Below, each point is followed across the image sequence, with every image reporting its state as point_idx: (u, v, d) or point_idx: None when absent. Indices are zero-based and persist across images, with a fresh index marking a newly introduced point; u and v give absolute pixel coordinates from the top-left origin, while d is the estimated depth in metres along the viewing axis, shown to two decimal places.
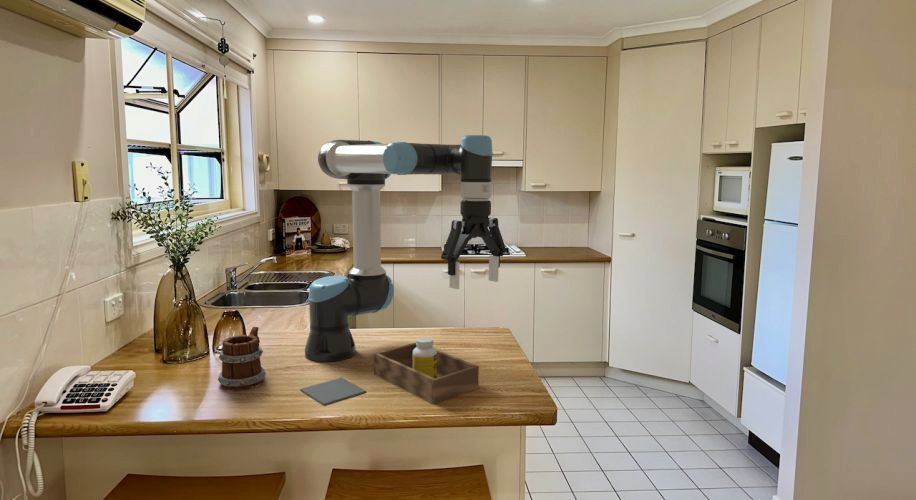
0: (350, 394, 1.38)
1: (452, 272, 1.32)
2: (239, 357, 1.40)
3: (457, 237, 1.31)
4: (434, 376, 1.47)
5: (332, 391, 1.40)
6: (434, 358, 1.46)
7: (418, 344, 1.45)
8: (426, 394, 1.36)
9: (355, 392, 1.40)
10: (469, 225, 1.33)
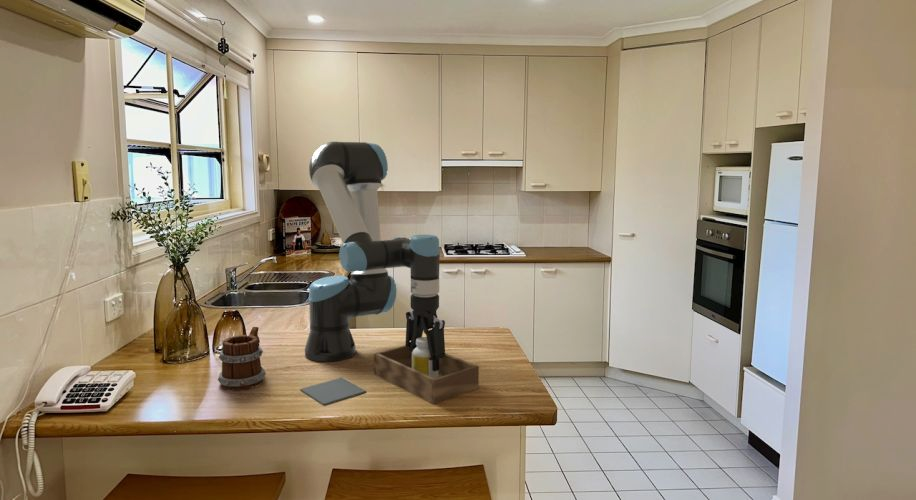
0: (350, 394, 1.38)
1: (411, 358, 1.51)
2: (239, 357, 1.40)
3: (407, 326, 1.50)
4: None
5: (332, 391, 1.40)
6: None
7: (418, 344, 1.45)
8: (426, 394, 1.36)
9: (355, 392, 1.40)
10: (414, 314, 1.47)
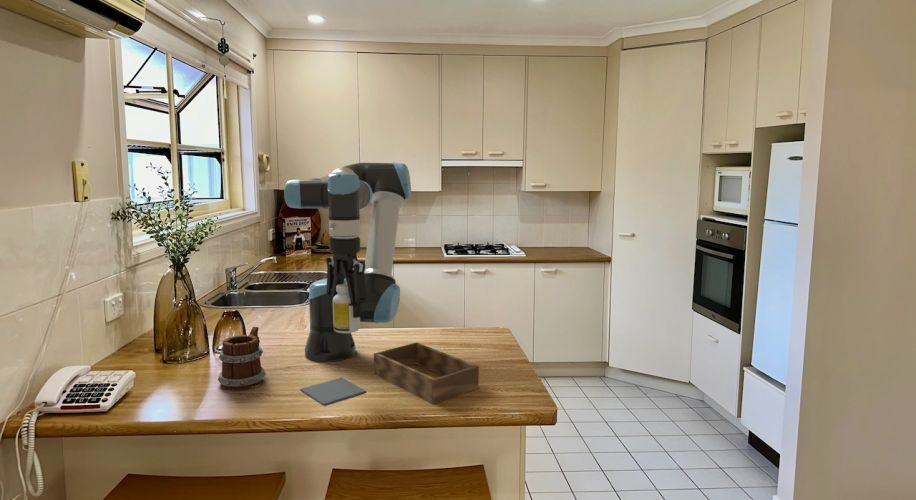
0: (350, 394, 1.38)
1: None
2: (239, 357, 1.40)
3: (328, 273, 1.41)
4: None
5: (332, 391, 1.40)
6: None
7: (338, 290, 1.37)
8: (426, 394, 1.36)
9: (355, 392, 1.40)
10: (334, 259, 1.39)
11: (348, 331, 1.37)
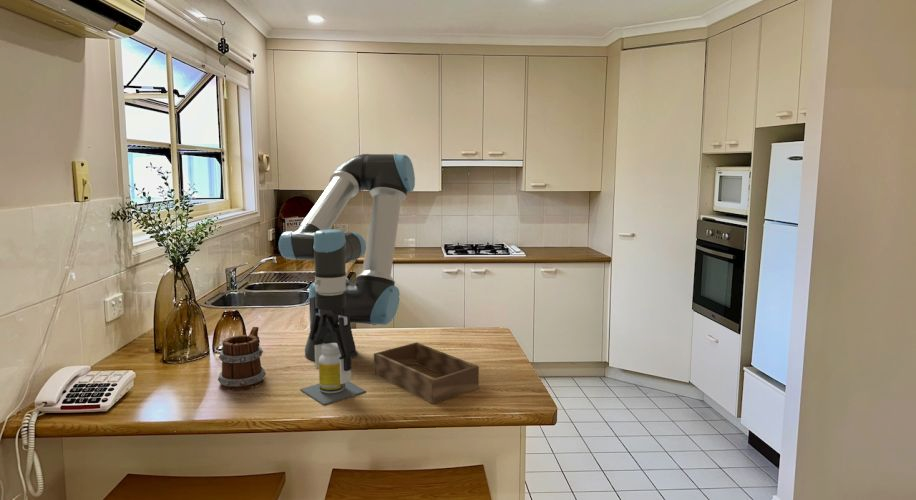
0: (350, 394, 1.38)
1: None
2: (239, 357, 1.40)
3: (313, 321, 1.43)
4: (341, 384, 1.39)
5: None
6: None
7: (323, 351, 1.38)
8: (426, 394, 1.36)
9: (355, 392, 1.40)
10: (321, 314, 1.40)
11: (333, 391, 1.38)
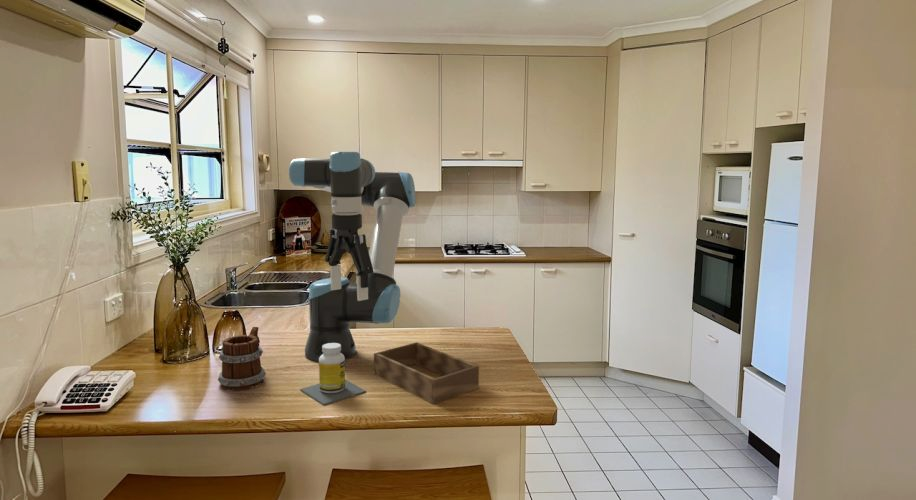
0: (350, 394, 1.38)
1: None
2: (239, 357, 1.40)
3: (330, 243, 1.46)
4: (341, 384, 1.39)
5: None
6: (341, 365, 1.39)
7: (324, 350, 1.38)
8: (426, 394, 1.36)
9: (355, 392, 1.40)
10: (337, 235, 1.43)
11: (333, 391, 1.38)
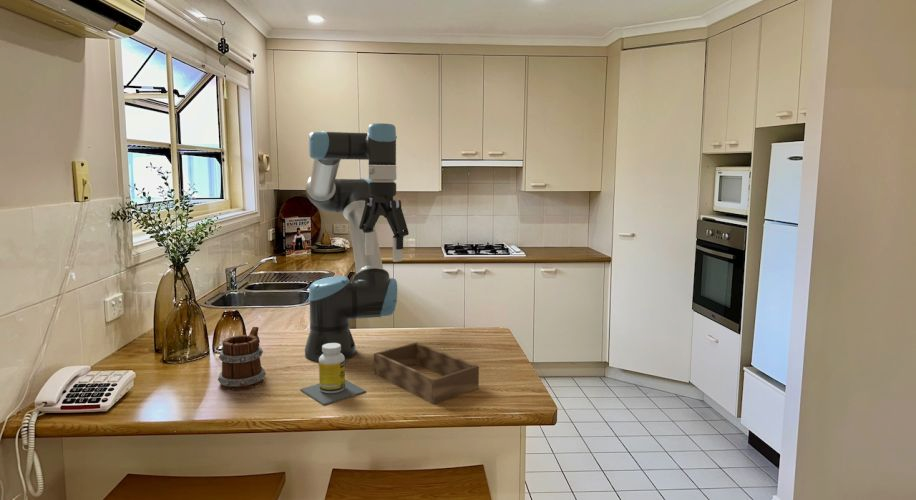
0: (350, 394, 1.38)
1: (364, 240, 1.59)
2: (239, 357, 1.40)
3: (364, 211, 1.57)
4: (341, 384, 1.39)
5: None
6: (341, 365, 1.39)
7: (323, 350, 1.38)
8: (426, 394, 1.36)
9: (355, 392, 1.40)
10: (373, 203, 1.54)
11: (333, 391, 1.38)
